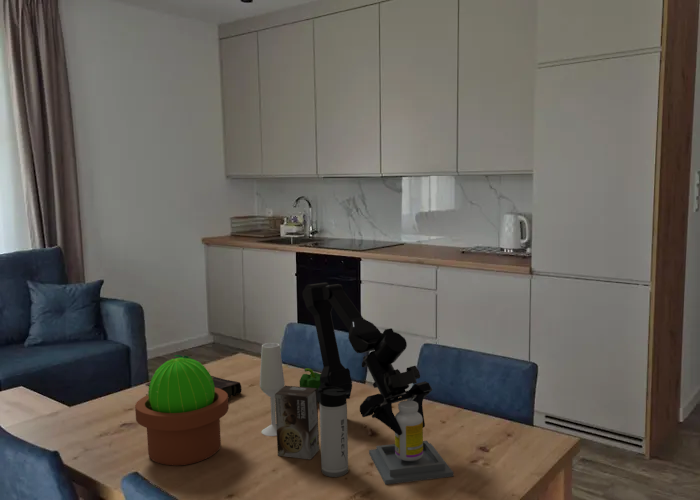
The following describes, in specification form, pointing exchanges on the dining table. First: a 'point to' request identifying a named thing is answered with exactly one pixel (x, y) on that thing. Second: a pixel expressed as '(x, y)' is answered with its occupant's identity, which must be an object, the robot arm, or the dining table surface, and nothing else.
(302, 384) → the bell pepper
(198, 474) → the dining table surface
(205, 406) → the potted cactus
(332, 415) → the travel mug
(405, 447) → the supplement bottle
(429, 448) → the holder board
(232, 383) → the diary
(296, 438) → the cookie box
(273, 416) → the champagne flute
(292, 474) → the dining table surface
